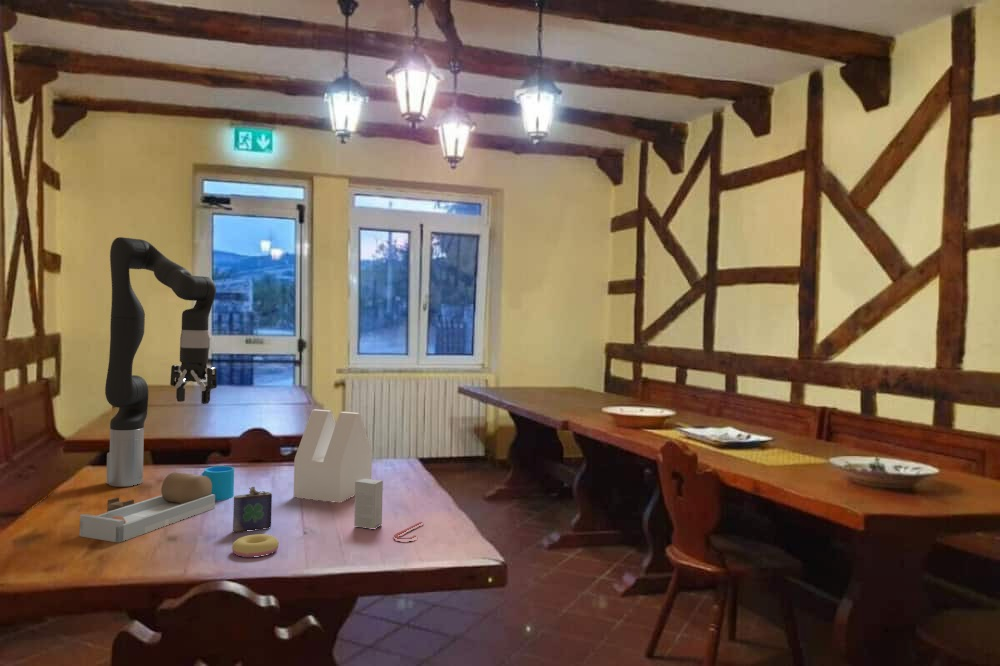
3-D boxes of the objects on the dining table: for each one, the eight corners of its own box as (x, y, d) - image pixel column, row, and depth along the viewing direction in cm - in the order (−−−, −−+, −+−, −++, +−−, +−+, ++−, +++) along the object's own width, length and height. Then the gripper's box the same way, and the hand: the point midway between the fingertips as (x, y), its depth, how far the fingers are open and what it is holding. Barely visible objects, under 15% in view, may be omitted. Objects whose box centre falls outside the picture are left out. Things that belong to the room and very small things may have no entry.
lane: (79, 536, 168) (80, 496, 168) (179, 503, 198) (180, 469, 198) (119, 542, 164) (119, 501, 164) (214, 508, 195) (215, 473, 194)
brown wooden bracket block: (107, 512, 187) (107, 499, 187) (116, 509, 190) (116, 497, 190) (124, 515, 185) (125, 502, 185) (134, 512, 188) (134, 499, 188)
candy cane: (439, 530, 184) (439, 524, 184) (409, 546, 170) (409, 540, 170) (419, 526, 187) (419, 520, 187) (388, 541, 173) (388, 535, 173)
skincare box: (382, 526, 184) (383, 480, 184) (374, 530, 180) (375, 483, 180) (361, 523, 186) (363, 477, 186) (353, 527, 182) (354, 481, 181)
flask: (233, 533, 174) (234, 490, 173) (231, 530, 176) (232, 487, 176) (272, 529, 178) (273, 486, 178) (269, 525, 181) (270, 484, 181)
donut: (233, 558, 164) (235, 565, 155) (230, 538, 164) (231, 544, 155) (277, 546, 168) (282, 553, 159) (274, 527, 168) (278, 533, 159)
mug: (239, 496, 208) (240, 468, 208) (216, 502, 201) (216, 473, 201) (212, 490, 214) (213, 463, 214) (188, 495, 207) (189, 467, 207)
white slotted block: (339, 503, 204) (341, 417, 203) (293, 497, 209) (295, 413, 208) (371, 488, 222) (373, 409, 222) (328, 483, 227) (330, 406, 226)
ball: (108, 535, 171) (119, 522, 174) (121, 537, 170) (132, 523, 173) (100, 525, 169) (111, 511, 172) (113, 526, 167) (124, 513, 170)
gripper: (224, 346, 203) (222, 403, 203) (184, 344, 207) (182, 399, 208) (205, 347, 195) (203, 406, 196) (164, 345, 200) (162, 402, 200)
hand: (192, 402), depth 202 cm, fingers open, 8 cm apart
